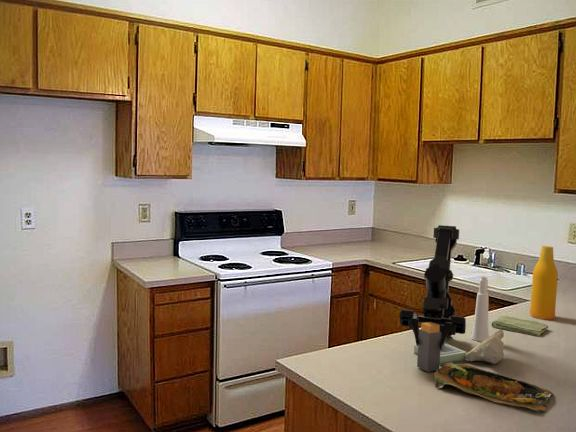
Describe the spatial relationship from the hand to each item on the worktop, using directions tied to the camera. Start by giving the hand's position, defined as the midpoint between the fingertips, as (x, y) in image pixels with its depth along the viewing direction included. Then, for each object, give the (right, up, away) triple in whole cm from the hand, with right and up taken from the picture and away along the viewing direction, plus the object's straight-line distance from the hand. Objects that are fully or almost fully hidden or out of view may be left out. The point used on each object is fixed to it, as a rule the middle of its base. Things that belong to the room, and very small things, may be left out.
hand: (428, 347), depth 152 cm
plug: (0, -6, +2) cm, 7 cm away
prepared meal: (+14, -9, -11) cm, 20 cm away
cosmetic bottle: (+26, -5, +32) cm, 42 cm away
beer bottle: (+63, -4, +65) cm, 91 cm away
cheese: (+21, -7, +13) cm, 26 cm away
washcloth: (+46, -5, +47) cm, 66 cm away
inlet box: (+7, -6, +13) cm, 16 cm away
